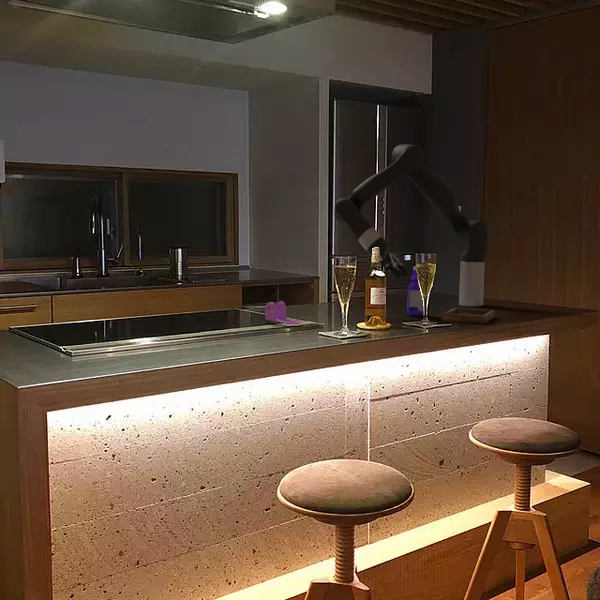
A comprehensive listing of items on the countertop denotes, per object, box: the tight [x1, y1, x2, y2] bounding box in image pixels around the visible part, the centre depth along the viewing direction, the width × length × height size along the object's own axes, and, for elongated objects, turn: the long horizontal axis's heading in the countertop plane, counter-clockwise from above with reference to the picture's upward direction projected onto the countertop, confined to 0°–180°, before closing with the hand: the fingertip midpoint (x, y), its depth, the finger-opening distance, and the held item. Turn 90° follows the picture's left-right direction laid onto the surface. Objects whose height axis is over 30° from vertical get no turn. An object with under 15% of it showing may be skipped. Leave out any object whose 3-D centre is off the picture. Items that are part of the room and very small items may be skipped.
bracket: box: [264, 300, 303, 324], centre depth 250 cm, size 13×6×7 cm, turn 43°
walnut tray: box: [441, 307, 495, 325], centre depth 267 cm, size 18×14×2 cm
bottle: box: [406, 265, 423, 317], centre depth 273 cm, size 7×6×17 cm
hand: (404, 276), depth 275 cm, fingers open, 8 cm apart
